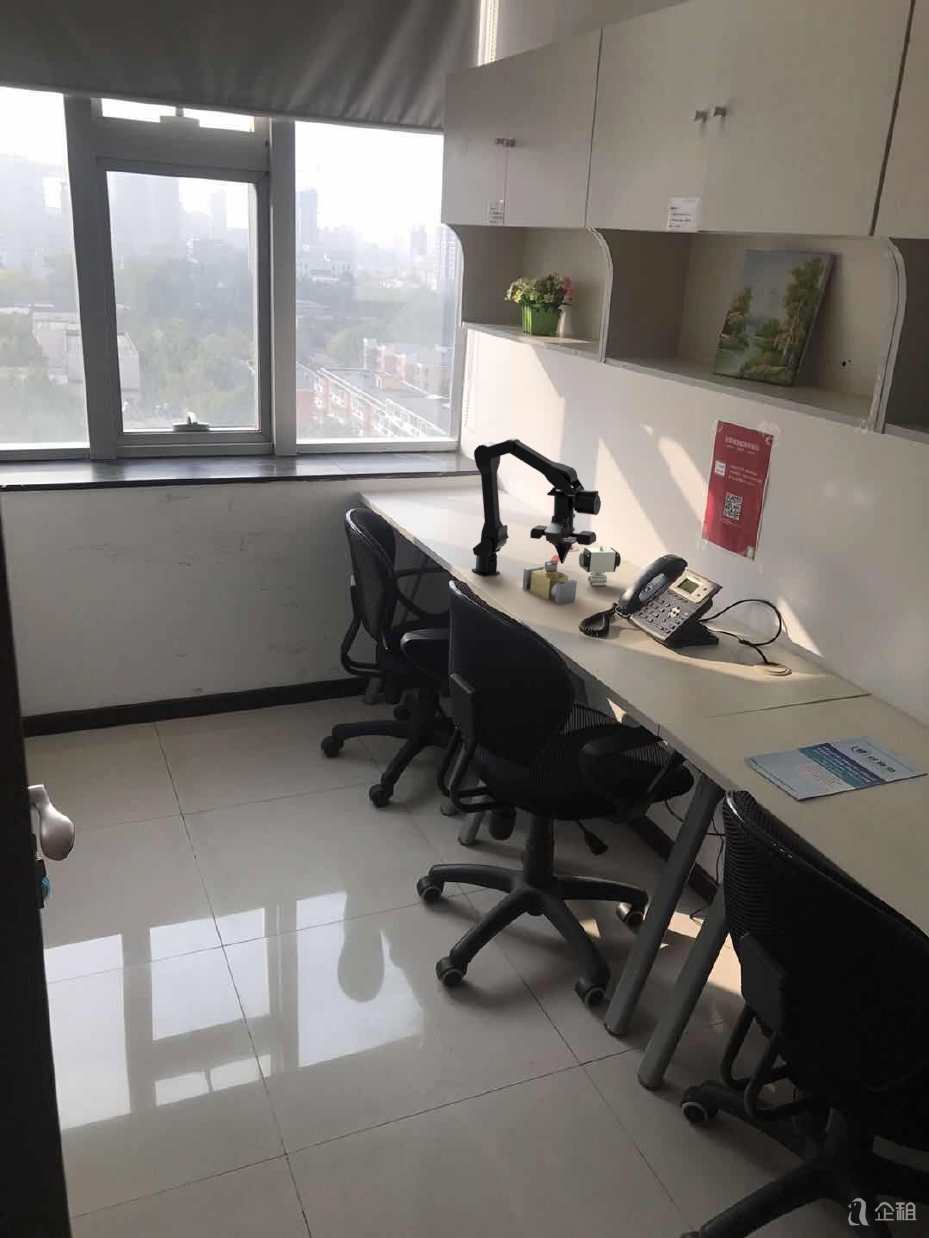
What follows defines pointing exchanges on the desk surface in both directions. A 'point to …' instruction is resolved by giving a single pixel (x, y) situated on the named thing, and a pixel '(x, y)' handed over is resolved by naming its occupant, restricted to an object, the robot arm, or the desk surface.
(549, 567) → the lever
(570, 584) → the valve pipe
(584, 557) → the pneumatic valve
